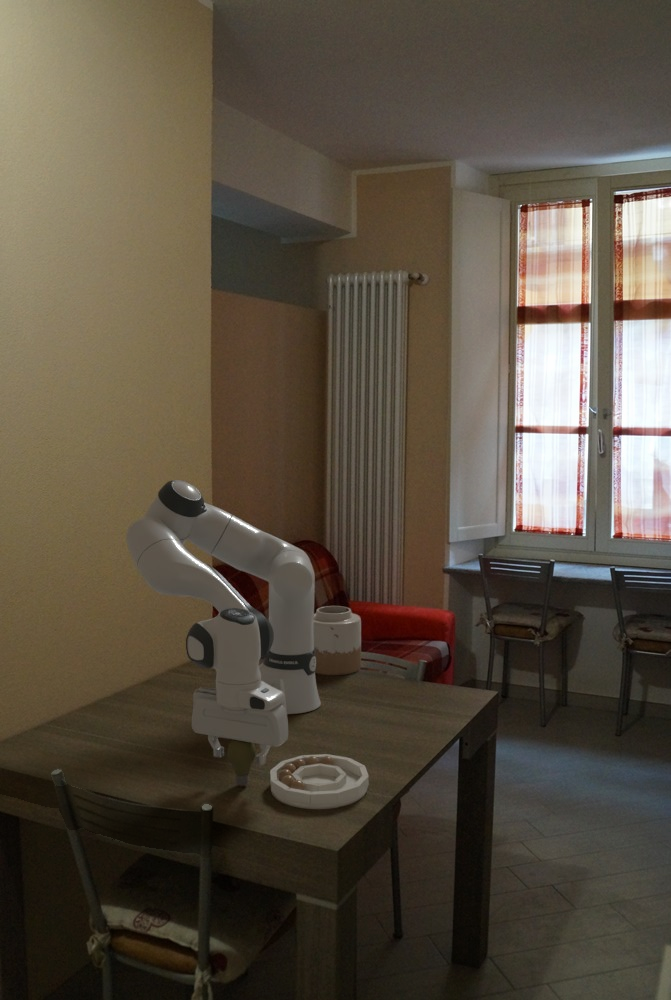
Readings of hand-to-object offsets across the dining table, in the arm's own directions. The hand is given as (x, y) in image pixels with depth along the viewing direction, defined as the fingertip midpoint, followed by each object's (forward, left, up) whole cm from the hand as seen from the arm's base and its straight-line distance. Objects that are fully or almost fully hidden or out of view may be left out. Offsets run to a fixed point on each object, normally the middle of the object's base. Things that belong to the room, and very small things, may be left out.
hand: (239, 760), depth 186 cm
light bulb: (0, 0, -6) cm, 6 cm away
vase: (-15, +80, -6) cm, 82 cm away
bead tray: (+15, +5, -5) cm, 17 cm away
